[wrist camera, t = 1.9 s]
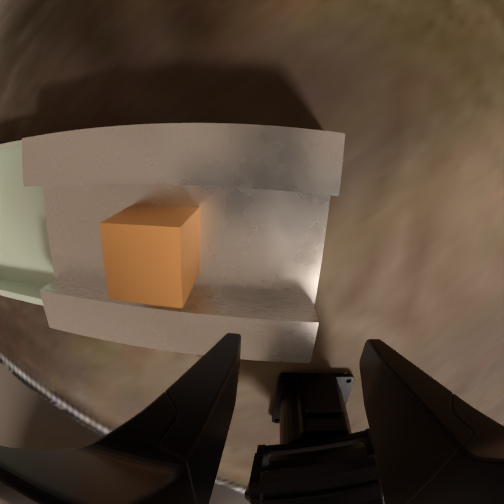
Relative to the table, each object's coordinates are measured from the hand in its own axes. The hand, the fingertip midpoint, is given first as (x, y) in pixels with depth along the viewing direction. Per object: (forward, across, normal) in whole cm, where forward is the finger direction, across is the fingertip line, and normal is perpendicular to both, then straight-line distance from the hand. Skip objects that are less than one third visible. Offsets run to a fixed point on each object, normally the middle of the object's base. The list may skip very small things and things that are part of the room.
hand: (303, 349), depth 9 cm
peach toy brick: (+9, +7, 0) cm, 11 cm away
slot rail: (+12, +7, 0) cm, 14 cm away
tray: (+12, +22, 0) cm, 25 cm away
